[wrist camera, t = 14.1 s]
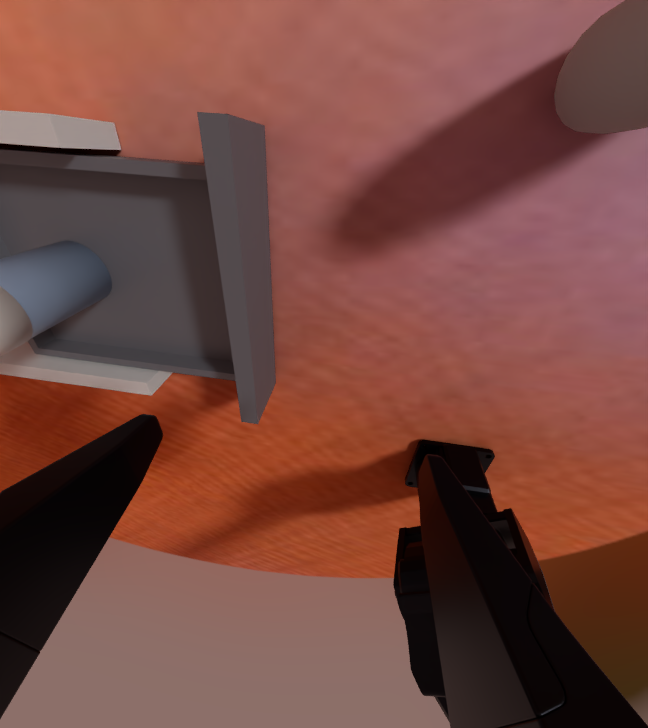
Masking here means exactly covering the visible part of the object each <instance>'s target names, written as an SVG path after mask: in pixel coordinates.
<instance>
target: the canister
mask: <svg viewBox="0 0 648 728" xmlns="http://www.w3.org/2000/svg"><path fill="white" fill-rule="evenodd" d="M111 289H112V281H111V276H110V274H109V271H108V269H107V268H106V266H105V264H104V263H103V262H102V260H101V259H100V258H99V257H98V256H97V255H96V254H95V253H94V252H92V251H91V250H90V249H88V248H87V247H85V246H84V245H82V244H79V243H77V242H74V241H68V240H65V241H60V242H56V243H53V244H49V245H46V246H42V247H39V248H36V249H32V250H29V251H25V252H22V253H18V254H15V255H12V256H8V257H5V258H1V259H0V357H1V356H2V355H4V354H6V353H8V352H10V351H11V350H13V349H15V348H17V347H19V346H20V345H22V344H24V343H26V342H27V341H29V340H30V339H31V338H33V337H35V336H36V335H38V334H40V333H42V332H44V331H45V330H47V329H49V328H51V327H53V326H54V325H56V324H58V323H60V322H62V321H63V320H65V319H67V318H69V317H71V316H73V315H74V314H76V313H78V312H80V311H82V310H83V309H85V308H87V307H89V306H91V305H92V304H94V303H96V302H98V301H100V300H102V299H103V298H105V297H107V296H108V295H109V293H110V292H111Z"/></svg>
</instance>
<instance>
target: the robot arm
mask: <svg viewBox="0 0 648 728" xmlns="http://www.w3.org/2000/svg"><path fill="white" fill-rule="evenodd" d="M162 437H163V432H162V430H161V427H160V424H159V422H158V419H157V417H156V416H154V415H147V414H142V415H139V416H137V417H135V418H134V419H132V420H130V421H128V422H126V423H125V424H123V425H121V426H119V427H117V428H115V429H114V430H112V431H110V432H108V433H106V434H105V435H103V436H101V437H99V438H97V439H96V440H94V441H92V442H90V443H88V444H86V445H85V446H83V447H81V448H79V449H77V450H76V451H74V452H72V453H70V454H68V455H67V456H65V457H63V458H61V459H59V460H58V461H56V462H54V463H52V464H50V465H48V466H47V467H45V468H43V469H41V470H39V471H38V472H36V473H34V474H32V475H30V476H28V477H27V478H25V479H23V480H21V481H19V482H18V483H16V484H14V485H12V486H10V487H9V488H7V489H5V490H3V491H2V492H1V493H0V719H1V717H2V715H3V713H4V712H5V710H6V708H7V707H8V705H9V704H10V702H11V700H12V699H13V697H14V695H15V694H16V692H17V690H18V688H19V687H20V685H21V684H22V682H23V680H24V678H25V677H26V675H27V674H28V672H29V670H30V669H31V667H32V665H33V664H34V662H35V660H36V659H37V657H38V655H39V654H40V651H41V650H42V648H43V646H44V645H45V643H46V641H47V640H48V638H49V636H50V635H51V633H52V631H53V630H54V628H55V626H56V625H57V623H58V621H59V620H60V618H61V616H62V615H63V613H64V611H65V610H66V608H67V606H68V605H69V603H70V601H71V600H72V598H73V596H74V595H75V593H76V591H77V589H78V588H79V586H80V585H81V583H82V581H83V580H84V578H85V576H86V575H87V573H88V571H89V569H90V568H91V566H92V565H93V563H94V561H95V560H96V558H97V556H98V555H99V553H100V551H101V550H102V548H103V546H104V545H105V543H106V541H107V540H108V538H109V536H110V535H111V533H112V531H113V530H114V528H115V526H116V525H117V523H118V521H119V520H120V518H121V516H122V515H123V513H124V511H125V510H126V508H127V506H128V505H129V503H130V501H131V500H132V498H133V496H134V495H135V493H136V491H137V490H138V488H139V486H140V484H141V483H142V481H143V479H144V477H145V475H146V472H147V470H148V468H149V466H150V464H151V462H152V460H153V458H154V455H155V453H156V451H157V449H158V447H159V445H160V443H161V441H162ZM424 445H425V446H424ZM494 457H495V455H494V453H493V451H492V450H490V449H484V448H477V447H470V446H463V445H456V444H449V443H442V442H435V441H428V440H422V441H420V442H419V443H418V445H417V448H416V451H415V453H414V456H413V459H412V462H411V464H410V467H409V470H408V472H407V475H406V478H405V484H406V485H407V486H410V487H416V488H418V495H419V502H420V523H421V526H417V527H411V528H406V527H404V528H400V529H399V538H398V544H397V554H396V564H395V573H394V589H395V596H396V598H397V601H398V605H399V608H400V611H401V614H402V616H403V618H404V620H405V625H406V630H407V637H408V645H409V654H410V664H411V670H412V673H413V676H414V678H415V680H416V682H417V684H418V687H419V689H420V691H421V693H422V694H423V695H424V696H434V697H435V698H436V700H437V702H438V704H439V705H440V707H441V709H442V710H443V712H444V714H445V715H446V717H447V719H448V720H449V722H450V726H451V728H648V726H647V724H646V723H645V722H644V721H643V720H642V718H641V717H640V716H639V715H638V714H637V712H636V711H635V710H634V709H633V708H632V707H631V705H630V704H629V703H628V702H627V700H626V699H625V698H624V697H623V696H622V694H621V693H620V692H619V691H618V690H617V688H616V687H615V686H614V685H613V684H612V682H611V681H610V680H609V679H608V678H607V676H606V675H605V674H604V673H603V672H602V670H601V669H600V668H599V667H598V666H597V664H596V663H595V662H594V661H593V660H592V658H591V657H590V656H589V655H588V653H587V652H586V651H585V650H584V648H583V647H582V646H581V645H580V643H579V642H578V641H577V640H576V638H575V637H574V636H573V635H572V634H571V632H570V631H569V630H568V629H567V627H566V626H565V625H564V623H563V622H562V621H561V619H560V618H559V617H558V615H557V614H556V613H555V611H554V607H553V604H552V601H551V598H550V595H549V592H548V588H547V585H546V582H545V579H544V576H543V573H542V570H541V568H540V565H539V563H538V561H537V558H536V556H535V554H534V551H533V549H532V547H531V544H530V542H529V540H528V538H527V536H526V534H525V532H524V530H523V529H522V527H521V525H520V523H519V521H518V520H517V518H516V516H515V514H514V512H513V511H512V509H511V508H510V509H504V511H501V512H497V509H496V507H495V504H494V501H493V498H492V495H491V490H490V487H489V484H488V481H487V479H486V476H485V472H486V470H487V469H488V467H489V465H490V464H491V462H492V461H493V459H494Z"/></svg>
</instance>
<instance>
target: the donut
mask: <svg viewBox="0 0 648 728" xmlns="http://www.w3.org/2000/svg"><path fill="white" fill-rule="evenodd" d="M554 100H555V107H556V113H557V114H558V116H559V118H560V119H561V121H562V123H563V124H564V125H566V126H567V127H569V128H571V129H572V130H574V131H577V132H586V133H598V134H608V133H615V132H622V131H629V130H636V129H641V128H646V127H648V0H625V1H624V2H622V3H621V4H619V5H617V6H616V7H614V8H613V9H611V10H610V11H608V12H607V13H605V14H604V15H602V16H601V17H600V18H599V19H598V20H597V21H596V22H595V23H594V24H593V25H592V26H591V27H590V28H588V29H587V30H586V31H585V32H584V33H583V34H582V35H581V37H580V38H579V40H578V41H577V42H576V44H575V45H574V47H573V48H572V50H571V51H570V52H569V54H568V55H567V57H566V59H565V61H564V64H563V66H562V68H561V70H560V73H559V75H558V77H557V82H556V88H555V94H554Z"/></svg>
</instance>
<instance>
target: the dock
mask: <svg viewBox="0 0 648 728" xmlns="http://www.w3.org/2000/svg"><path fill="white" fill-rule="evenodd" d="M0 143H4V144H17V145H30V146H43V147H56V148H77V149H105V150H121V147H120V143H119V139H118V136H117V132H116V128H115V124H114V123H111V122H104V121H97V120H90V119H83V118H76V117H69V116H61V115H54V114H46V113H31V112H16V111H2V110H0ZM172 373H173V372H166V371H159V370H151V369H144V368H136V367H129V366H121V365H114V364H106V363H99V362H92V361H84V360H77V359H69V358H62V357H54V356H47V355H39V354H35V353H34V351H33V349H32V348H31V346H30V344H29V343H28V341H27V342H26V343H24V344H22V345H20V346H19V347H17V348H15V349H13V350H11V351H10V352H8V353H6V354H4V355H2V356H1V357H0V374H3V375H10V376H17V377H24V378H31V379H38V380H45V381H52V382H59V383H66V384H73V385H80V386H88V387H95V388H102V389H109V390H116V391H123V392H130V393H137V394H144V395H152V394H153V393H154V392H155V391H156V390H157V389H158V388H159V387H160V386H161V385H162V384H163V383H164V382H165V380H166V379H167V378H168V377H169V376H170V375H171V374H172Z"/></svg>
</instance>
